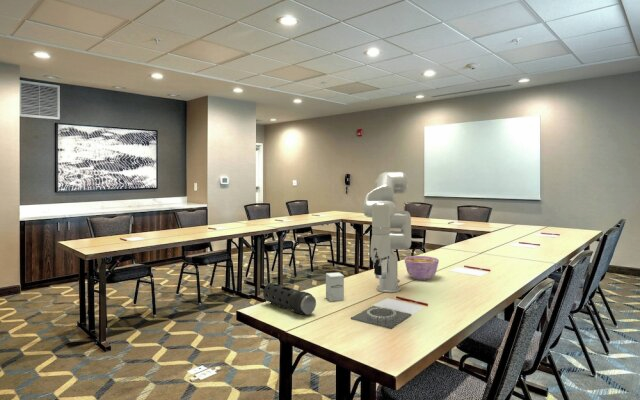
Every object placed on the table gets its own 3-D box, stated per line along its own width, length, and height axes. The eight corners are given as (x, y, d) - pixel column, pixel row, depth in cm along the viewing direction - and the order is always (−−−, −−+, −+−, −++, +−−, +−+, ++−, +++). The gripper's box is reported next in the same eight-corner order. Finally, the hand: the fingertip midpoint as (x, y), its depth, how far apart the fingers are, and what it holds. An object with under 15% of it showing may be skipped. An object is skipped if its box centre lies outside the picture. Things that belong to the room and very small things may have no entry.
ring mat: (373, 307, 180) (373, 302, 180) (411, 315, 169) (411, 310, 169) (350, 319, 165) (350, 314, 165) (391, 329, 154) (391, 323, 154)
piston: (378, 275, 170) (378, 257, 169) (389, 277, 167) (389, 258, 166) (373, 277, 166) (373, 259, 165) (383, 279, 163) (383, 260, 162)
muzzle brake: (278, 301, 192) (278, 280, 191) (317, 314, 171) (317, 291, 171) (262, 305, 185) (262, 284, 185) (301, 320, 165) (301, 296, 164)
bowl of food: (398, 275, 237) (397, 257, 237) (426, 273, 243) (426, 254, 243) (415, 284, 218) (415, 263, 218) (445, 281, 224) (446, 261, 223)
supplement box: (329, 302, 189) (329, 276, 188) (325, 297, 196) (325, 272, 195) (344, 300, 191) (344, 275, 190) (339, 296, 198) (339, 271, 197)
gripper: (382, 228, 174) (383, 268, 175) (363, 233, 161) (363, 276, 162) (398, 229, 170) (398, 270, 171) (379, 234, 156) (379, 279, 157)
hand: (381, 272), depth 166 cm, fingers closed on piston, 5 cm apart
